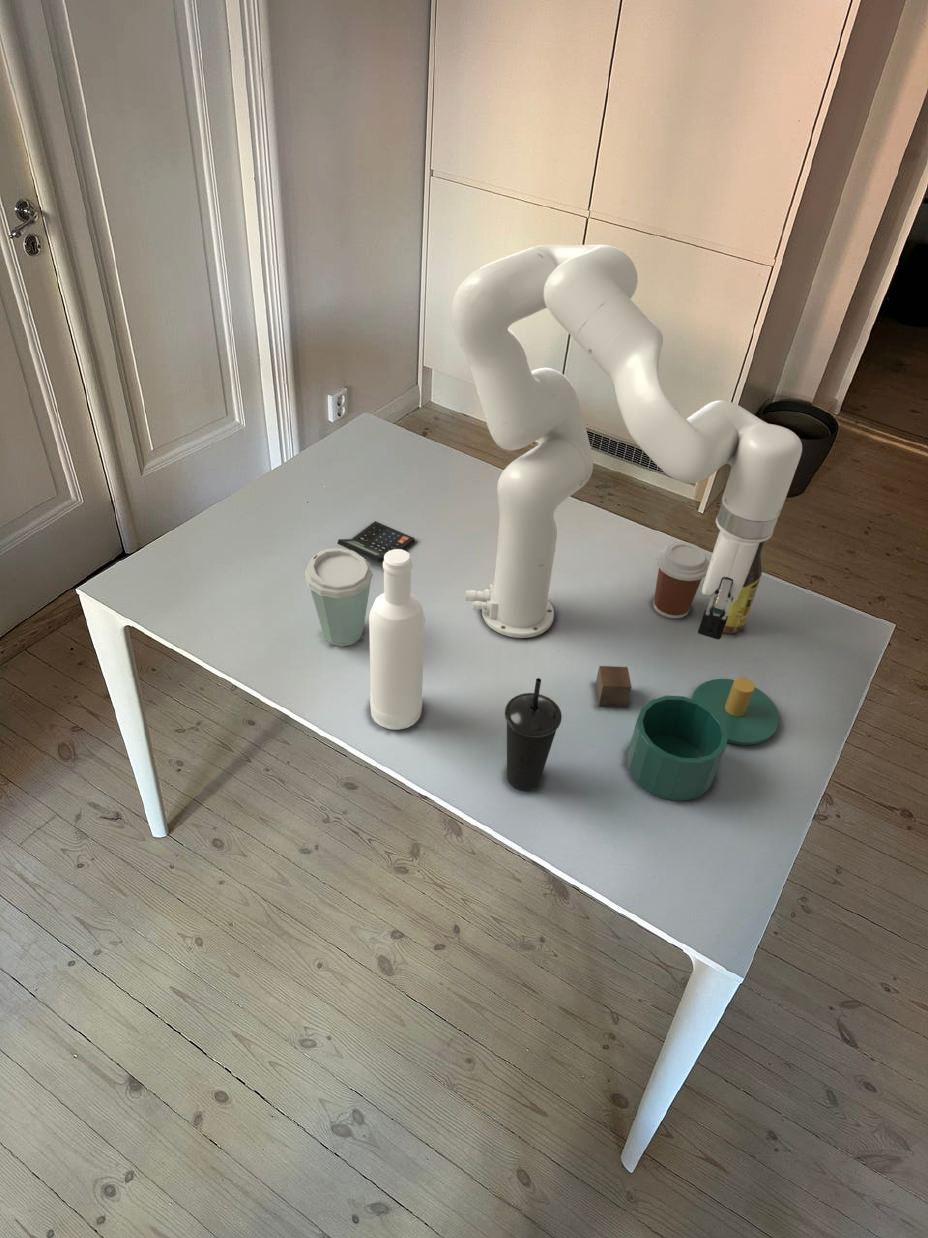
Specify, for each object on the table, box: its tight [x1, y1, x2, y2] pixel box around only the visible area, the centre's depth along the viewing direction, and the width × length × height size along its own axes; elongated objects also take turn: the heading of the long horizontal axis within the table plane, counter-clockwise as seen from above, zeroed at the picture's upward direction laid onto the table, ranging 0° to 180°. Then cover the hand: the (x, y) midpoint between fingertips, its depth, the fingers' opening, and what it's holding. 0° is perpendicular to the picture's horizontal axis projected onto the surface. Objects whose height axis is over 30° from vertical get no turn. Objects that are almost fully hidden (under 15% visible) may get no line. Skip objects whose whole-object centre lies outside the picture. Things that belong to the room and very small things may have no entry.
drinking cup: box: [504, 677, 563, 792], centre depth 120 cm, size 8×8×20 cm
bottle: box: [368, 549, 426, 731], centre depth 125 cm, size 8×8×30 cm
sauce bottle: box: [712, 541, 766, 635], centre depth 149 cm, size 7×6×20 cm
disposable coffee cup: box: [304, 547, 373, 647], centre depth 142 cm, size 11×11×15 cm
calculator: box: [337, 521, 415, 563], centre depth 165 cm, size 9×12×3 cm
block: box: [594, 665, 632, 708], centre depth 139 cm, size 4×4×4 cm
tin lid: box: [690, 677, 780, 746], centre depth 136 cm, size 14×14×7 cm
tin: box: [626, 695, 728, 802], centre depth 127 cm, size 13×13×8 cm
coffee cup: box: [652, 541, 710, 619], centre depth 154 cm, size 9×9×12 cm
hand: (714, 614), depth 126 cm, fingers open, 9 cm apart
